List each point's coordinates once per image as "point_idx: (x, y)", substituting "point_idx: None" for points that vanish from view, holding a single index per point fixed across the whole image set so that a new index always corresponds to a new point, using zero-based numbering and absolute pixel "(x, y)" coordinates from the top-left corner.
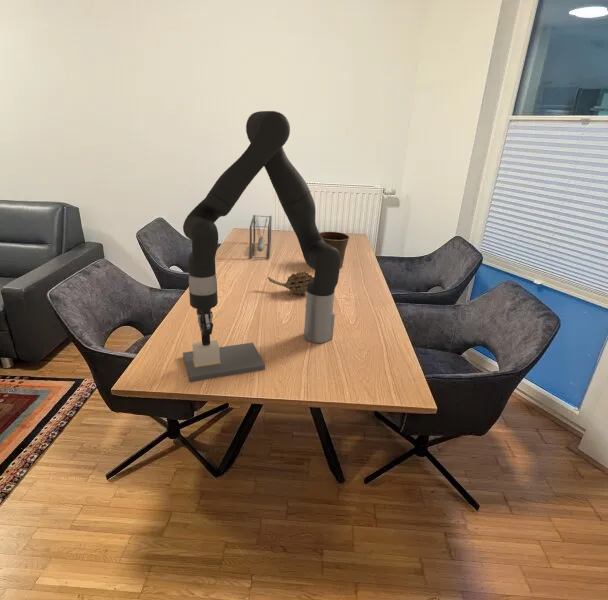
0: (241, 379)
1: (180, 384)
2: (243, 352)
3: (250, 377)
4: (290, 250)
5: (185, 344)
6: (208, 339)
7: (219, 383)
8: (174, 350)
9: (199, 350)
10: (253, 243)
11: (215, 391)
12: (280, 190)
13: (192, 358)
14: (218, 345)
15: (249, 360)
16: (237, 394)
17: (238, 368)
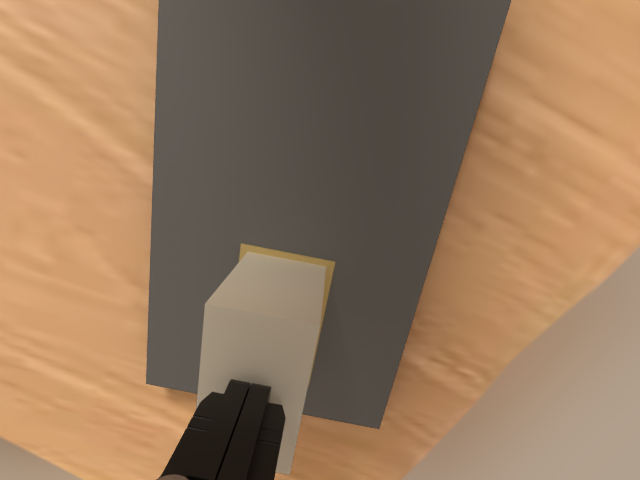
0: (498, 203)
1: (372, 439)
2: (276, 77)
3: (513, 148)
4: None
5: (42, 322)
6: (277, 451)
7: (461, 311)
8: (88, 379)
9: (295, 441)
10: None
11: (507, 348)
12: None
13: None
14: (302, 324)
15: (394, 85)
16: (600, 275)
17: (441, 195)
